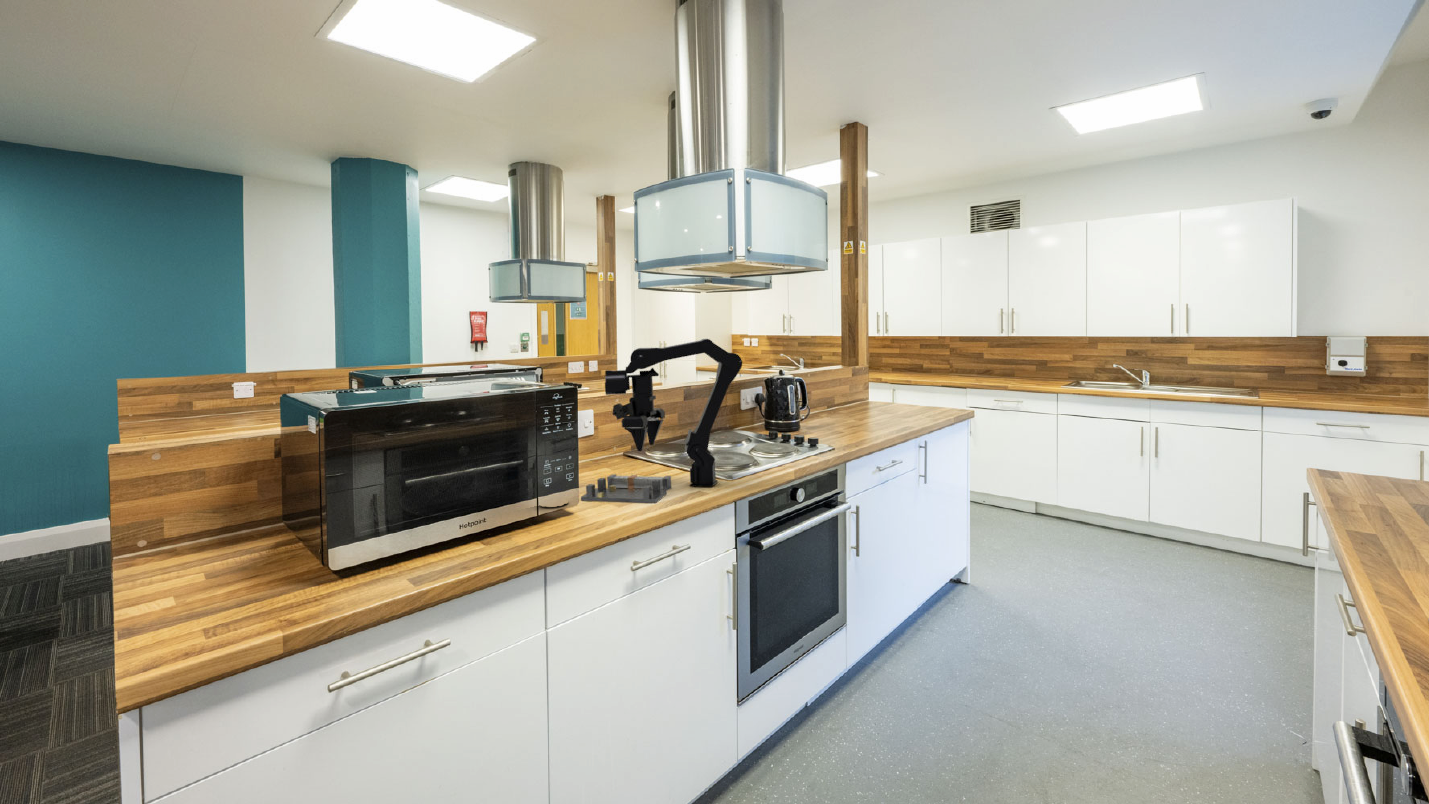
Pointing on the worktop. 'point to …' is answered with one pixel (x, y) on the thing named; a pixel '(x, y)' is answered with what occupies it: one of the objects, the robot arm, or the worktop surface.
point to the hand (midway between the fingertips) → (645, 447)
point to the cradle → (623, 493)
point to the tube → (637, 481)
